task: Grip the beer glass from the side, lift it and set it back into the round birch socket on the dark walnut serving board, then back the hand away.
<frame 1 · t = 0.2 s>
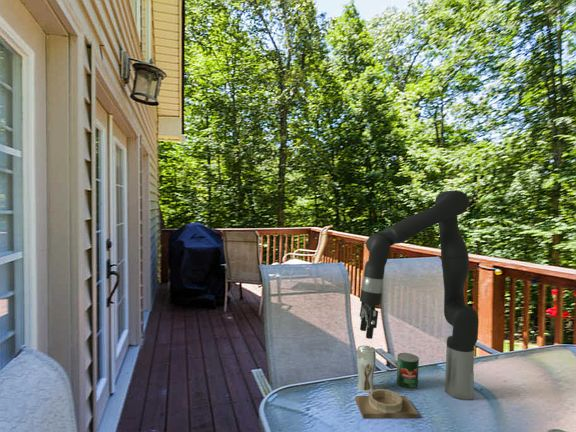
hand: (365, 334, 130), 22 cm above the table, tool pointing down, fingers open, 8 cm apart
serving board: (385, 408, 122), on the table
canned tomato: (407, 385, 139), on the table
beer glass: (365, 388, 135), on the table
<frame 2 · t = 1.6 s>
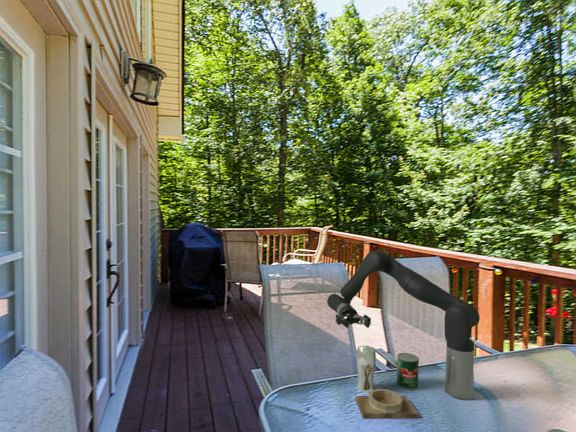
hand: (358, 325, 146), 20 cm above the table, tool horizontal, fingers open, 8 cm apart
nothing on the table moved.
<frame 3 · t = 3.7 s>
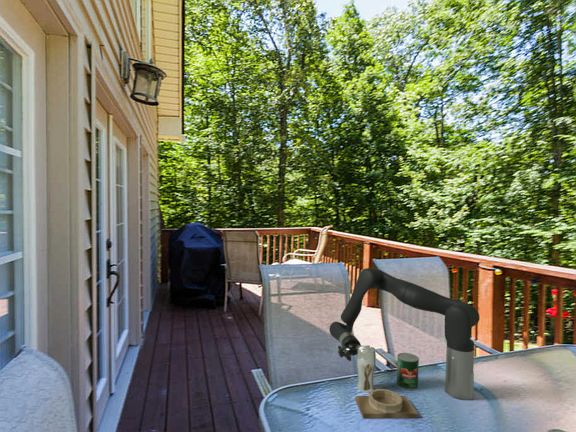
hand: (360, 358, 142), 8 cm above the table, tool horizontal, fingers open, 8 cm apart
nothing on the table moved.
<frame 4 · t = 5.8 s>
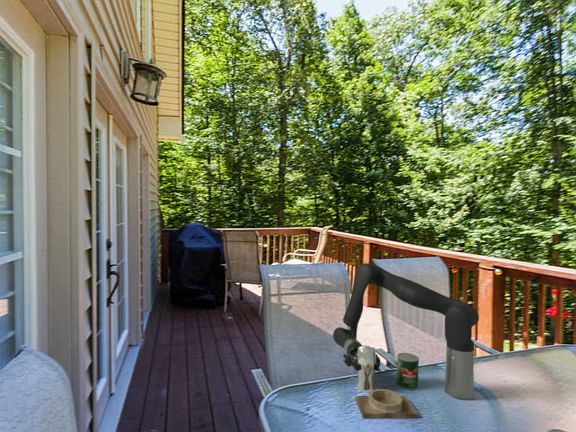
hand: (368, 368, 133), 9 cm above the table, tool horizontal, fingers closed on beer glass, 6 cm apart
beer glass: (365, 388, 135), on the table, touching gripper
everything else where it was.
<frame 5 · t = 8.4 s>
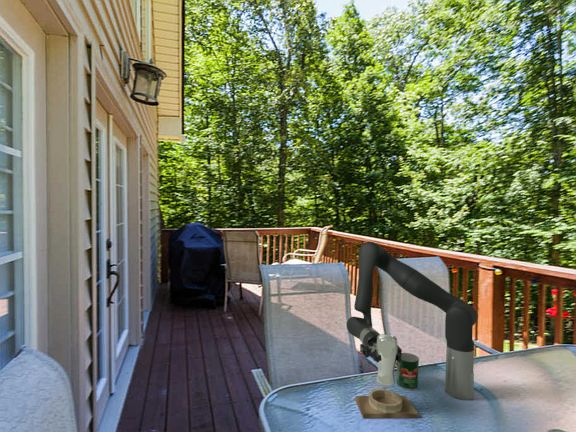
hand: (388, 359, 119), 18 cm above the table, tool horizontal, fingers closed on beer glass, 6 cm apart
beer glass: (385, 382, 122), point 9 cm above the table, touching gripper
everything else where it was.
when the fingers open (11 cm above the table, at t = 11.0 s): beer glass drops 1 cm, resting on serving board.
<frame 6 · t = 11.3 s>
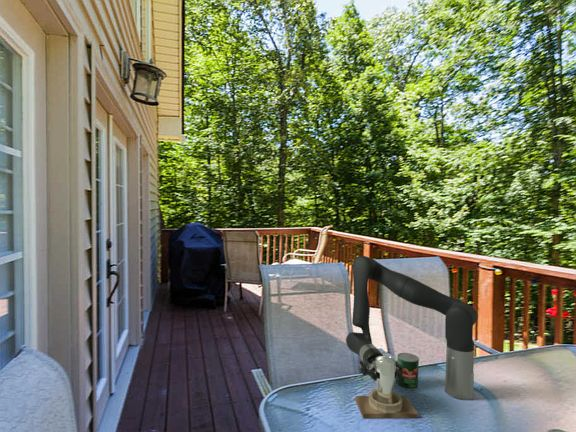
hand: (388, 377, 120), 11 cm above the table, tool horizontal, fingers open, 8 cm apart
beer glass: (384, 404, 122), point 1 cm above the table, touching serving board
everything else where it was.
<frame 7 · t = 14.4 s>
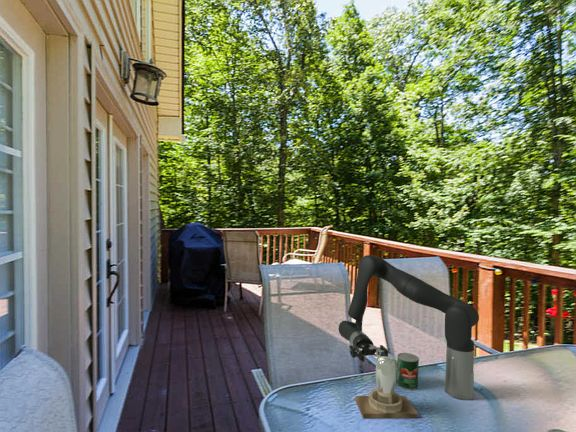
hand: (374, 359, 133), 12 cm above the table, tool horizontal, fingers open, 8 cm apart
nothing on the table moved.
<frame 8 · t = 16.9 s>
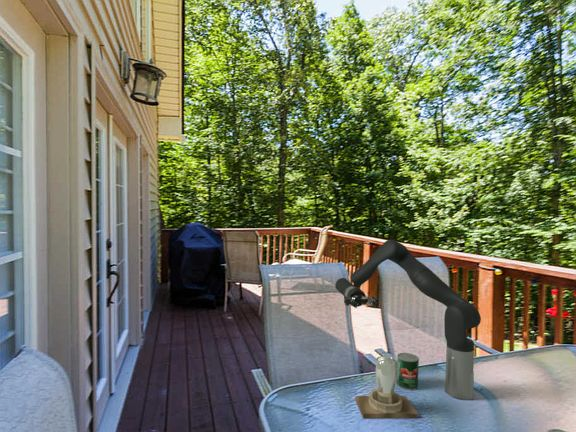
hand: (366, 305, 147), 28 cm above the table, tool horizontal, fingers open, 8 cm apart
nothing on the table moved.
at the end: beer glass 0.2 cm off-centre on the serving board, point 1.3 cm above the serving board's base; beer glass tilted 0°; the gripper is holding nothing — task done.
